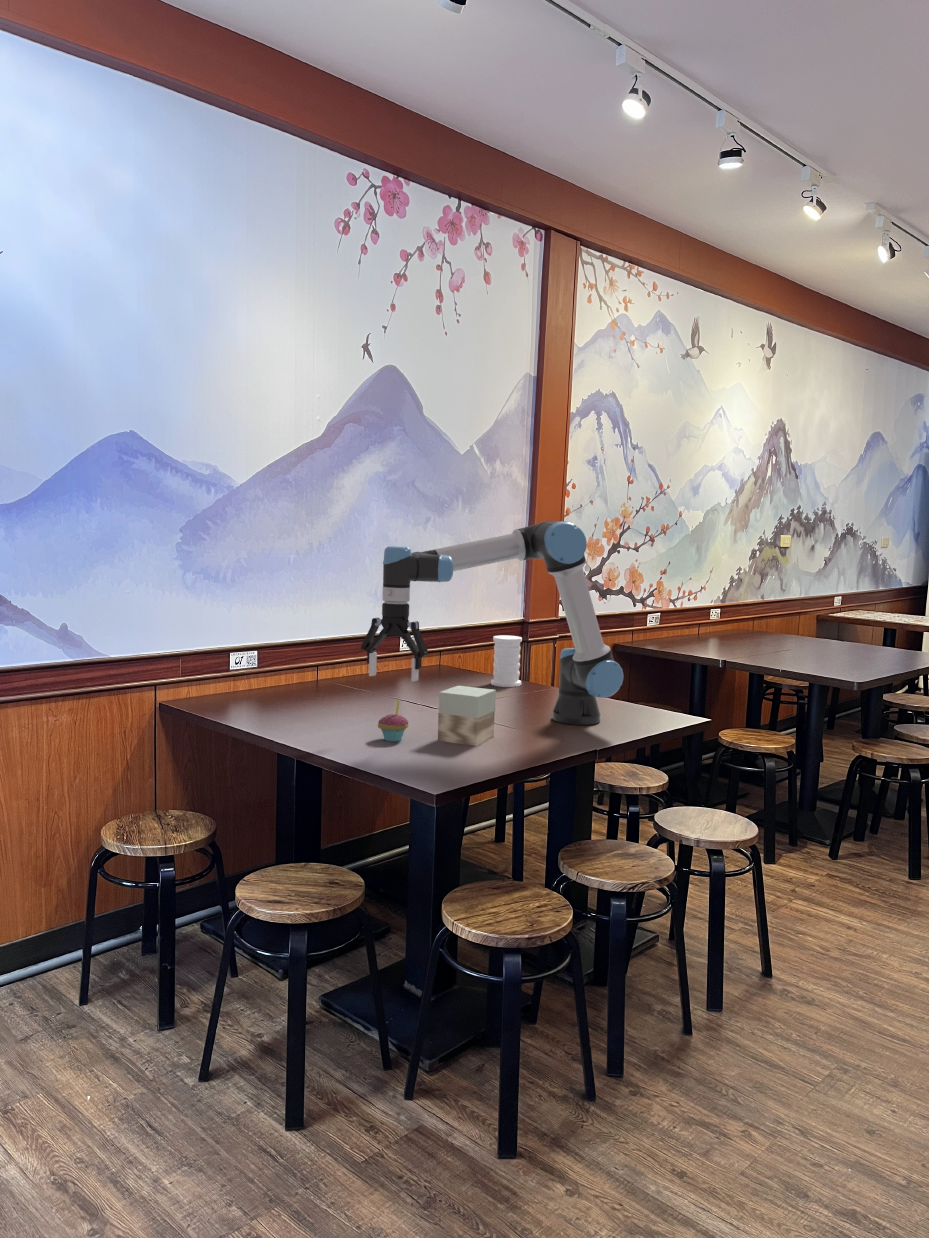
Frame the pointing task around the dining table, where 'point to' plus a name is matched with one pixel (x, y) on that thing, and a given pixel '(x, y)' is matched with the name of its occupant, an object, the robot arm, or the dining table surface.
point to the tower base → (465, 728)
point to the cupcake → (393, 725)
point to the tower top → (467, 701)
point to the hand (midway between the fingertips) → (393, 678)
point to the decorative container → (506, 661)
